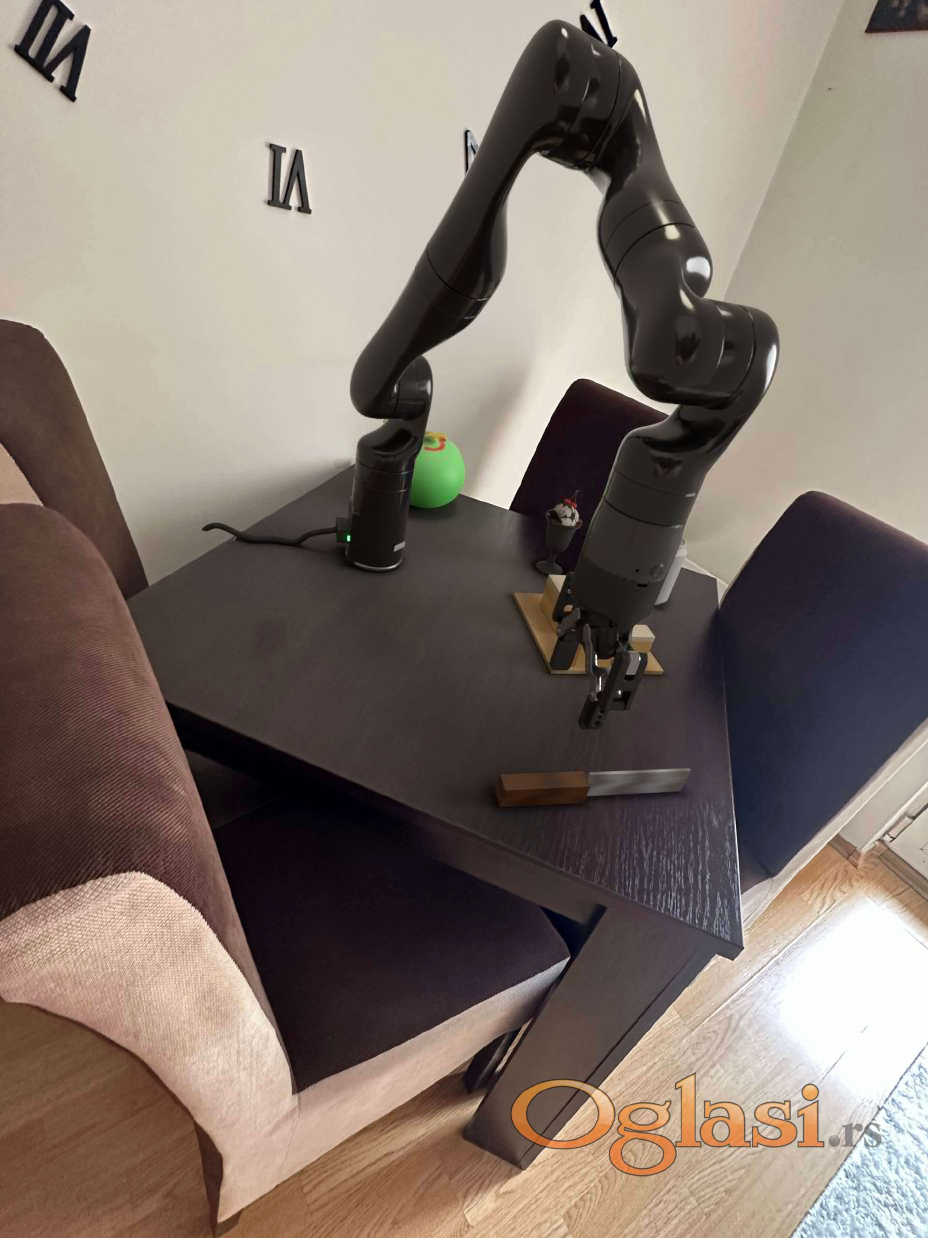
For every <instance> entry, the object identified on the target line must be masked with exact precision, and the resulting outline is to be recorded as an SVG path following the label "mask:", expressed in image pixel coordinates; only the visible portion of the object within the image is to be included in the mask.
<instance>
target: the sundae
mask: <svg viewBox="0 0 928 1238" xmlns="http://www.w3.org/2000/svg"><path fill="white" fill-rule="evenodd" d="M579 492H580V490H577V489H575V492H574V494H573V495H572V496H571V497H570V498H565V499H564V500H563V501H562V502H560V503H558V504H557V505H555V506H554V508H552V509H548V510H547V511H546V512H545V517H546V520H547V524H546V525H547V526H546V531H545V542H544V543H545V545H546V548H547V549H548V550H549V552H550V553H549V557H548V559H547V560H539V561H538V562H536V563H535V567H536V569H537V570H538V571H539V572H541V573H543V574H544V575H548V576H549V575H561V574H562V573H563V568H562V567H561V566H560V565H559V564H558V563H556V557H557V555H558V554H559V553H562V552H564V551H566V550H567V548H568V547H569V545H570V544H571V541H572V539H573V536H574V535H575V532H576V531H577V530H579V529H580V528H581V527H582V526H583V520H582V519H581V518H579V517H580V515H579V512H578V511H577V509H576V508H577V507H578V505H577V503H576V500H577V497H578V496H577V495H578V493H579ZM573 498H574V501H572V502H571V499H573Z"/></svg>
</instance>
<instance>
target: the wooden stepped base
mask: <svg viewBox="0 0 928 1238" xmlns="http://www.w3.org/2000/svg"><path fill="white" fill-rule="evenodd" d="M566 575H567V574H566ZM566 575H565V574H562V575H561V574H559V575H548V576H547V579H546V583H545V586H544V588H543V589H544V590H543V593H535V592H534V593H533V592H513V593H512V598H513V600H514V602H515V605H516V606H517V608H518V611H519V612H520V614H521V617H522V618H523V621H524V623H525V625H526V626H527V629H528V630H529V632H530V634H531V637H532V639H533V641H534V643H535V645H536V647H537V649H538V650H539V653H540V654H541V658H542V659H543V662H544V663H545V665H546V667H547V669H548V671H549V673H550V674H551V675H552V674H553V675H587V674H586V672H585V668H574V667H573V665H571V668H570V669H568V670H552V669H551V666H550V664H549V662H550V659H551V656H552V653H553V650H554V647H555V644H556V641H557V638H558V637H557V636H556V628H557V626H558V622H553V620H552V613H553V610H554V607H555V605H556V602H557V599H558V596H559V594H560V591H561V588H562V585H563V583H564V580H565V577H566ZM572 607H573V605H567V606H566V607H565V609H564V611H571V609H572ZM663 673H664V669H663V668H662V666H661V665H660V663H659V662H658V660H657V659H656V658H655V657H654V655H653V653H652V652H651V650H649V653H648V664H647V666H646V669H645V671H644V674H643V675H657V676H658V675H659V676H660V675H663Z"/></svg>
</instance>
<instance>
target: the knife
mask: <svg viewBox="0 0 928 1238" xmlns="http://www.w3.org/2000/svg"><path fill="white" fill-rule="evenodd" d="M691 772H692V769H691V768H690V767H687V768H686V767H685V768H663V769H639V770H637V769H636V770H635V769H634V770H615V771H613V770H612V771H590V772H589V771H588V774H586V772H585V771H584V770H577V771H553V772H532V773H531V772H528V773H506V774H505V773H504V774H499V776H498V779H497V782H496V786H495V789H494V794H495V797H496V800H497V802H498V803H497V804H498V807H499V808H514V807H515V808H516V807H517V808H518V807H534V806H535V807H536V806H550V805H551V806H552V805H554V806H555V805H568V804H584V803H585V801H586V798H587V797H597V796H599V797H601V796H615V795H617V796H618V795H636V794H638V795H639V794H654V793H655V794H656V793H657V794H658V793H674V792H676V793H677V792H681V790H682V789H683V787H684V785H685V783H686V781H687V780H688V778H689V776H690V775H691ZM586 775H587V776H586Z"/></svg>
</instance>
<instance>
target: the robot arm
mask: <svg viewBox="0 0 928 1238" xmlns="http://www.w3.org/2000/svg"><path fill="white" fill-rule="evenodd" d="M650 113H651V112H650V109H649V106H648V101H647V97H646V94H645V91H644V88H643V85H642V82H641V79H640V77H639V75H638V73H637V70H636V68H635V67H634V65H633V64H632V63H631V62H630V61H629V60H628V58H626V57H625V56H624V55H623V54H622V53H620V52H619V51H617V50H616V49H614V48H612V47H610V46H609V45H607V44H605V43H603V42H602V41H600V40H599V39H597V38H595V37H594V36H592V35H590V34H588V33H587V32H585V31H584V30H583V29H581V28H579V27H578V26H576V25H574V24H572V23H570V22H568V21H565V20H563V19H552V20H549V21H547V22H546V23H544V24H543V25H542V26H541V27H540V28H538V29H537V31H536V32H535V33H534V34H533V35H532V37H531V39H529V42H528V43H527V44H526V46H525V47H524V49H523V51H522V53H521V54H520V56H519V58H518V59H517V62H516V64H515V66H514V68H513V69H512V72H511V73H510V76H509V78H508V81H507V82H506V85H505V86H504V89H503V90H502V94H501V95H500V98H499V99H498V102H497V104H496V107H495V109H494V111H493V114H492V115H491V118H490V120H489V123H488V125H487V128H486V130H485V132H484V134H483V136H482V139H481V141H480V143H479V145H478V148H477V150H476V152H475V154H474V156H473V158H472V161H471V163H470V164H469V167H468V169H467V171H466V174H465V175H464V177H463V179H462V181H461V182H460V185H459V186H458V188H457V191H456V192H455V194H454V196H453V198H452V199H451V201H450V204H449V205H448V206H447V209H446V211H445V212H444V214H443V216H442V218H441V219H440V221H439V222H438V225H437V226H436V228H435V229H434V231H433V233H432V234H431V236H430V238H429V239H428V241H427V243H426V245H425V246H424V249H423V250H422V252H421V254H420V256H419V258H418V260H417V261H416V263H415V265H414V268H413V269H412V272H411V273H410V275H409V277H408V280H407V281H406V283H405V285H404V286H403V289H402V290H401V292H400V293H399V295H398V297H397V299H396V300H395V302H394V304H393V306H392V307H391V309H390V310H389V312H388V313H387V315H386V317H385V319H384V320H383V321H382V322H381V324H380V326H379V327H378V329H377V330H376V331H375V333H374V334H373V335H372V336H371V338H370V339H369V340H368V341H367V343H366V345H365V346H364V348H362V350H361V352H360V353H359V355H358V357H357V359H356V361H355V363H354V365H353V368H352V371H351V375H350V378H349V379H350V380H349V397H350V401H351V405H352V406H353V408H354V409H355V410H356V412H357V413H359V415H361V416H363V417H364V418H368V419H372V420H384V419H388V420H387V421H386V422H385V423H383V424H381V425H380V426H379V427H377V428H375V429H373V430H371V431H368V432H367V433H365V434H363V435H362V436H360V438H358V440H357V444H356V449H355V460H354V469H353V480H352V491H351V496H350V497H349V502H348V512H347V517H341V516H340V517H339V516H338V517H337V516H336V518H335V526H332V527H323V528H317V529H312V530H309V531H307V532H304V533H303V534H301V535H300V536H299V537H296V538H288V537H283V536H276V535H253V534H248V533H245V532H242V531H240V530H238V529H236V528H233V527H232V526H230V525H228V524H225V523H222V522H210V523H207V524H205V525H204V526H203V527H202V528H201V531H203V532H209V531H211V530H215V529H217V530H221V531H223V532H225V533H228V534H230V535H232V536H234V537H236V538H238V539H241V540H243V541H248V542H252V543H253V542H254V543H277V544H278V543H279V544H284V545H288V546H291V545H292V546H293V545H294V546H295V545H299V544H302V543H304V542H306V541H307V540H308V539H310V538H313V537H317V536H324V535H331V534H335V539H336V543H337V544H344V550H345V553H344V554H345V560H346V565H347V566H349V567H350V566H352V567H356V568H358V569H361V570H364V571H368V572H375V573H376V572H377V573H380V572H381V573H382V572H389V571H393V570H395V569H397V568H398V567H400V566H401V564H402V560H403V553H404V547H405V546H406V541H405V538H406V532H407V525H408V518H409V509H410V506H411V505H410V498H411V492H412V485H413V479H414V472H415V466H416V460H417V457H418V455H419V453H420V451H421V449H422V446H423V441H424V436H425V431H427V426H428V422H429V417H430V412H431V407H432V403H433V394H434V374H433V370H432V366H431V363H430V362H429V360H428V359H427V358H426V357H425V356H424V354H427V353H428V352H430V351H432V350H433V349H435V348H437V347H439V346H440V345H442V344H443V343H445V342H447V341H448V340H450V339H452V338H454V337H455V336H457V335H458V334H460V333H461V332H463V331H464V330H465V329H467V328H468V327H469V326H471V324H472V323H473V322H474V321H475V320H476V319H477V317H478V316H480V314H481V313H482V311H483V310H484V309H485V307H486V305H487V304H488V303H489V301H490V300H491V299H492V297H493V295H494V294H495V293H496V291H497V290H498V289H499V287H500V285H501V283H502V281H503V279H504V277H505V273H506V270H507V264H508V255H509V254H508V252H509V237H508V236H509V235H508V233H509V232H508V230H509V229H508V208H509V200H510V195H511V192H512V190H513V187H514V186H515V183H516V181H517V179H518V177H519V175H520V173H521V172H522V170H523V168H524V167H525V165H526V164H527V162H528V161H529V160H530V159H531V158H532V157H533V156H534V155H537V156H538V157H541V158H543V159H545V160H547V161H549V162H552V163H554V164H556V165H559V166H561V167H563V168H565V169H567V170H570V171H573V172H578V173H579V172H580V173H582V174H583V175H584V176H586V177H587V178H588V180H589V181H591V182H592V183H593V185H594V186H595V187H596V189H597V190H598V191H599V192H600V194H601V195H602V199H601V201H600V204H599V207H598V209H597V215H596V220H595V238H596V239H595V241H596V245H597V249H598V250H597V251H598V254H599V256H600V260H601V262H602V265H603V267H604V270H605V271H606V274H607V276H608V278H609V280H610V283H611V284H612V288H613V290H614V291H615V293H616V296H617V299H618V300H619V304H620V318H621V329H622V340H623V343H622V344H623V360H624V368H625V370H626V373H627V375H628V377H629V379H630V381H631V383H632V384H633V386H634V387H635V388H636V390H638V391H639V392H640V393H641V394H642V395H643V396H644V397H646V398H648V399H650V400H651V401H654V402H657V403H659V404H667V405H677V406H676V407H675V408H674V409H673V411H672V412H671V414H670V415H669V416H668V417H667V418H665V419H664V420H662V421H660V422H657V423H653V424H650V425H646V426H641V427H637V428H635V429H632V430H631V431H629V432H628V433H627V434H626V435H625V436H624V438H623V439H622V441H621V443H620V445H619V447H618V449H617V453H616V456H615V459H614V462H613V463H612V468H611V469H610V472H609V475H608V479H607V482H606V485H605V488H604V491H603V494H602V495H601V496H602V497H601V499H600V502H599V503H598V505H597V507H596V509H595V511H594V513H593V515H592V518H591V520H590V523H589V526H588V529H587V531H586V535H585V538H584V540H583V544H582V547H581V550H580V553H579V556H578V559H577V562H576V565H575V567H574V571H568V572H567V573H566V577H565V580H564V583H563V585H562V588H561V591H560V594H559V596H558V599H557V602H556V605H555V607H554V610H553V613H552V620H553V622H558V626H557V628H556V636H557V637H558V638H557V641H556V644H555V647H554V650H553V653H552V656H551V659H550V662H549V664H550V666H551V669H552V670H568V669H570V668H571V665H572V663H573V660H574V657H575V654H576V652H577V649H578V646H579V643H580V644H581V645H582V646H583V649H584V652H585V672H586V674H585V675H588V677H589V694H588V695H587V696H586V699H585V701H584V703H583V706H582V708H581V711H580V714H579V716H578V719H577V725H578V727H579V728H580V730H583V731H584V730H586V731H587V730H599V729H602V727H603V726H604V724H605V722H606V719H607V717H608V715H609V713H610V711H623V712H625V711H630V709H631V707H632V704H633V702H634V699H635V697H636V694H637V691H638V689H639V686H640V684H641V682H642V679H643V677H644V675H645V674H644V671H645V669H646V666H647V664H648V655H647V653H645V652H636V651H635V650H634V648H633V647H632V646H631V639H632V631H633V627H634V626H635V625H638V624H639V623H640V622H642V621H643V620H645V619H646V618H648V617H649V616H650V615H651V613H652V612H653V610H654V607H655V606H656V605H655V603H656V600H657V598H658V596H659V593H660V591H661V589H662V586H663V584H664V582H665V579H666V577H667V575H668V572H669V570H670V568H671V565H672V563H673V561H674V558H675V556H676V554H677V551H678V549H679V546H680V543H681V539H682V537H683V535H684V531H685V527H686V525H687V523H688V519H689V516H690V514H691V512H692V510H693V507H694V506H695V503H696V500H697V498H698V496H699V493H700V491H701V489H702V486H703V484H704V481H705V479H706V476H707V475H708V473H709V472H710V470H711V469H712V468H713V466H714V465H715V464H716V463H717V462H718V461H719V460H720V458H721V457H722V455H723V454H724V453H725V452H726V450H727V449H728V447H729V446H730V445H731V444H732V442H733V441H734V439H735V438H736V437H737V435H738V434H739V433H740V431H741V430H742V428H744V426H745V425H746V423H747V422H748V421H749V419H750V418H751V417H752V416H753V414H754V413H755V411H756V409H758V407H759V405H760V404H761V402H762V401H763V399H764V398H765V397H766V394H767V393H768V391H769V389H770V387H771V385H772V382H773V380H774V378H775V375H776V373H777V370H778V369H777V368H778V366H779V365H778V364H779V360H780V351H781V350H780V349H781V341H780V334H779V329H778V326H777V324H776V322H775V321H774V319H773V318H772V317H771V316H770V314H768V313H767V312H766V311H764V310H762V309H759V308H757V307H754V306H749V305H745V304H739V303H733V302H727V301H722V300H716V299H712V298H706V297H705V296H706V295H707V293H708V291H709V289H710V287H711V284H712V280H713V275H714V265H713V259H712V255H711V253H710V250H709V247H708V246H707V243H706V241H705V239H704V237H703V236H702V234H701V232H700V231H699V228H698V227H697V225H696V223H695V221H694V220H693V218H692V216H691V214H690V213H689V211H688V209H687V207H686V205H685V203H684V202H683V200H682V198H681V197H680V195H679V193H678V191H677V189H676V188H675V185H674V183H673V181H672V179H671V177H670V175H669V171H668V169H667V167H666V164H665V161H664V159H663V155H662V152H661V148H660V145H659V142H658V139H657V135H656V132H655V131H656V130H655V127H654V125H653V121H652V117H651V114H650ZM567 605H573V607H572V609H571V611H564V609H565V607H566V606H567ZM612 657H614V660H611V661H610V664H611V667H599V666H598V665H597V659H600V660H607V659H610V658H612ZM603 676H607V678H606V681H605V683H604V686H603V687H602V684H601V683H602V677H603ZM601 687H602V688H601Z"/></svg>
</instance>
